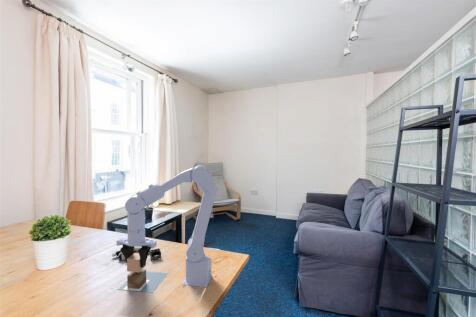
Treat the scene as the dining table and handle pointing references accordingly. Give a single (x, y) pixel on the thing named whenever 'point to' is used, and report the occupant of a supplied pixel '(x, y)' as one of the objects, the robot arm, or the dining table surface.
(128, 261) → the terracotta block
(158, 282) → the plate
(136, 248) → the robot toy
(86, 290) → the dining table surface
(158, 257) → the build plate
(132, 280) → the walnut block
